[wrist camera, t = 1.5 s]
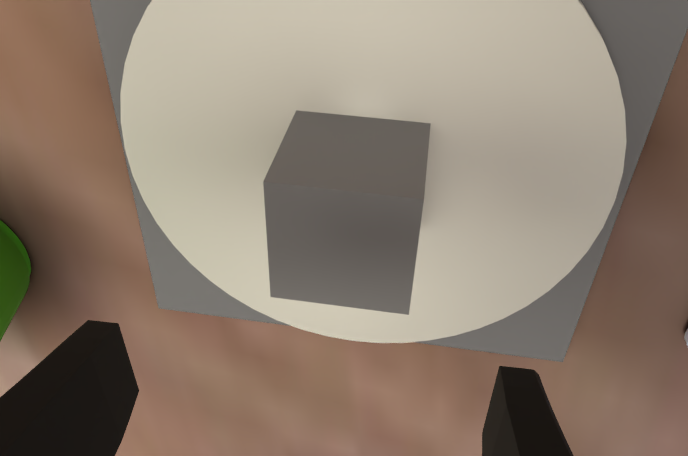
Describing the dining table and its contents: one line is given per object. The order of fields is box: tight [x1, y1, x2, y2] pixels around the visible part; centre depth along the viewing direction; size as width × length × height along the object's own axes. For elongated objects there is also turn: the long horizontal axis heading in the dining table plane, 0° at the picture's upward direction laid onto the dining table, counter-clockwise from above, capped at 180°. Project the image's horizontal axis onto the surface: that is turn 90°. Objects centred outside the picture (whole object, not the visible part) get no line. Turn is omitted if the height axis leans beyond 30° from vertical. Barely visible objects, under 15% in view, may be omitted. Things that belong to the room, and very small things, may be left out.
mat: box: [90, 0, 688, 362], centre depth 18 cm, size 15×15×1 cm
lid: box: [120, 0, 627, 343], centre depth 16 cm, size 14×14×4 cm
